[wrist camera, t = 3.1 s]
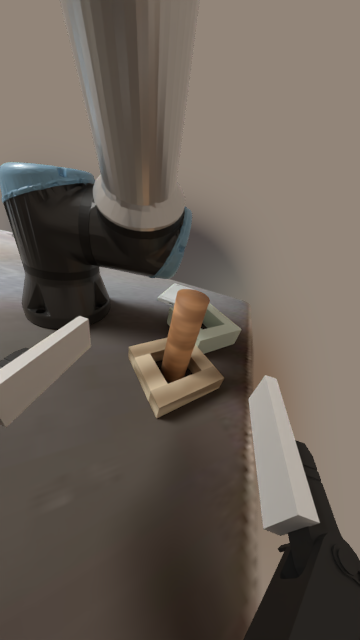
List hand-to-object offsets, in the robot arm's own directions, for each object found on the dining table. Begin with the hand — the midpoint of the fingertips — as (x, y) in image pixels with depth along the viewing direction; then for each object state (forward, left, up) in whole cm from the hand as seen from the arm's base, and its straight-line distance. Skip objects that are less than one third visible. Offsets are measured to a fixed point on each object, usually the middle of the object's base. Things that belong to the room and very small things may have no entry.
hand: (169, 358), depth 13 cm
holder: (-7, +7, -13) cm, 17 cm away
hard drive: (-30, +22, -14) cm, 40 cm away
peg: (-7, +7, -13) cm, 17 cm away
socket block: (-14, +18, -13) cm, 27 cm away
